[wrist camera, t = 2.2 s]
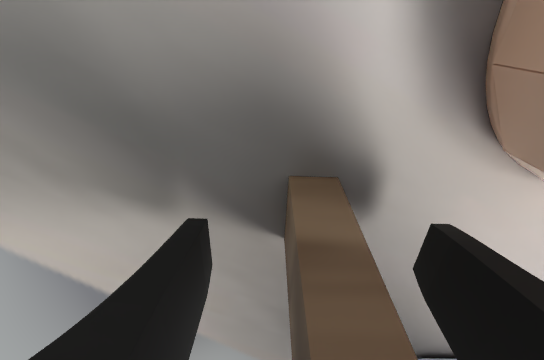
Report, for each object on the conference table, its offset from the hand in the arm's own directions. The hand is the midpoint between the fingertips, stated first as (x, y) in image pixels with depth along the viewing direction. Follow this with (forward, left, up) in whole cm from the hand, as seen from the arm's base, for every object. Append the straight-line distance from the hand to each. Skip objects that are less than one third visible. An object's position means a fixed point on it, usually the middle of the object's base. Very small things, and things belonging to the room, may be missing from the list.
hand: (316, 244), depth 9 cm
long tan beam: (0, 0, -2) cm, 2 cm away
